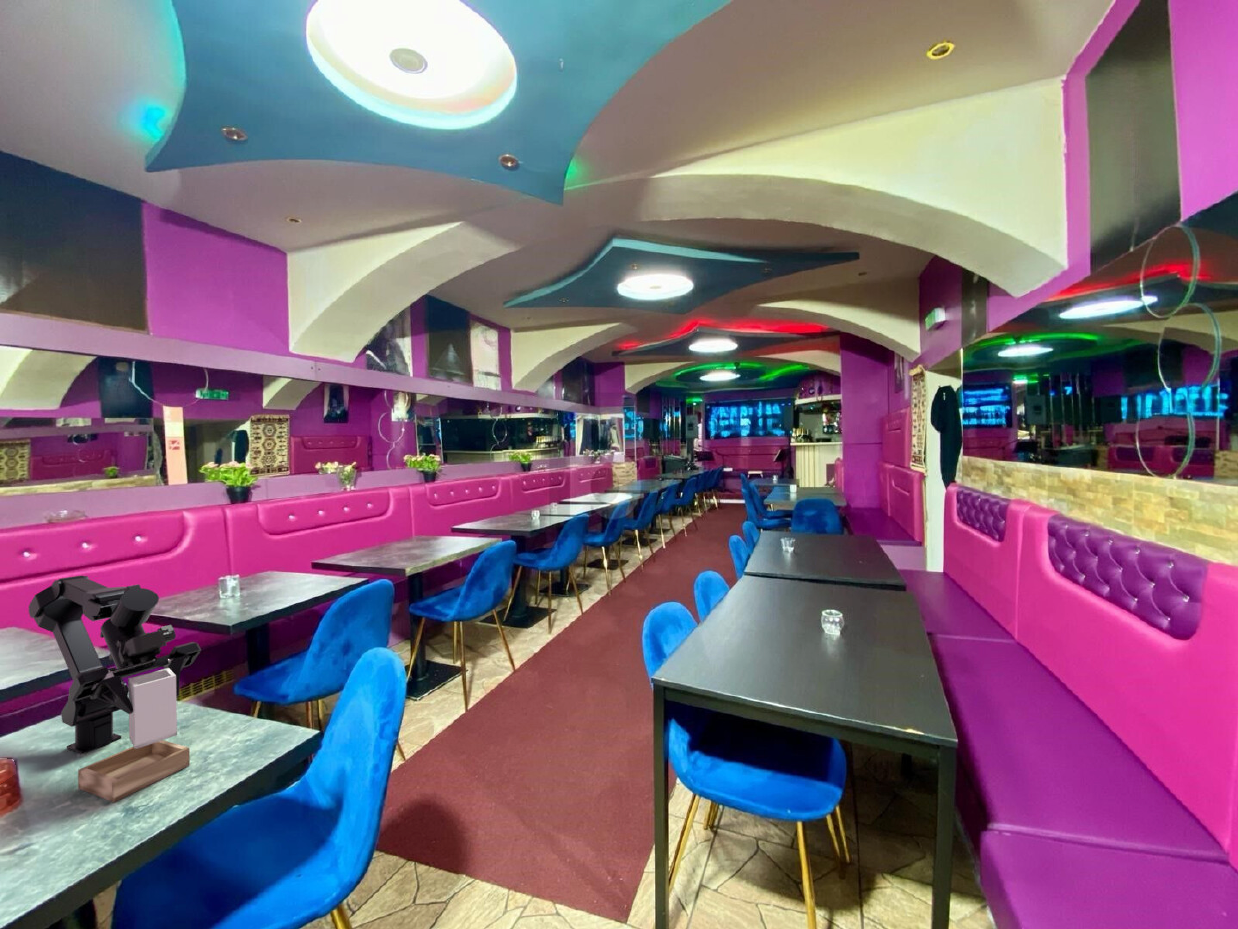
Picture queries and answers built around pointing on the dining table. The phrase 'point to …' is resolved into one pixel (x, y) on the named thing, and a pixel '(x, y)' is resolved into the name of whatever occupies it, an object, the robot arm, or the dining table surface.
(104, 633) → the robot arm
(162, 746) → the tray
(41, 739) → the dining table surface
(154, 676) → the white square vase
